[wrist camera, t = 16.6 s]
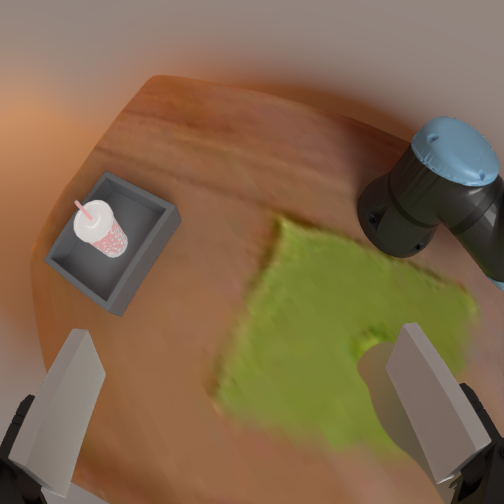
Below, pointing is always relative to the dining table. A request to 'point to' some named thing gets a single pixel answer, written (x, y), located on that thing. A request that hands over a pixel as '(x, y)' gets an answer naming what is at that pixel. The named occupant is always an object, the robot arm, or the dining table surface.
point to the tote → (134, 257)
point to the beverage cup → (100, 228)
